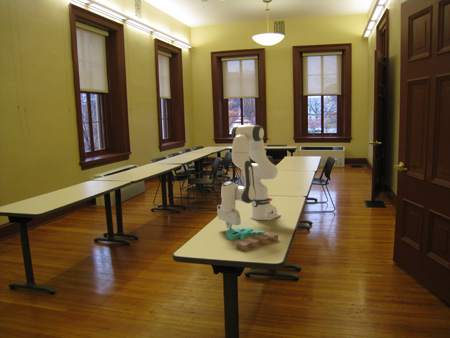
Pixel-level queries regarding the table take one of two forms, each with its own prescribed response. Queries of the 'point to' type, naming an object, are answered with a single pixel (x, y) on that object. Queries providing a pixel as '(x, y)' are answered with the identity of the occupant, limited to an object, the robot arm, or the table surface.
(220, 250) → the table surface
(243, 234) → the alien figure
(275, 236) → the laid plank
